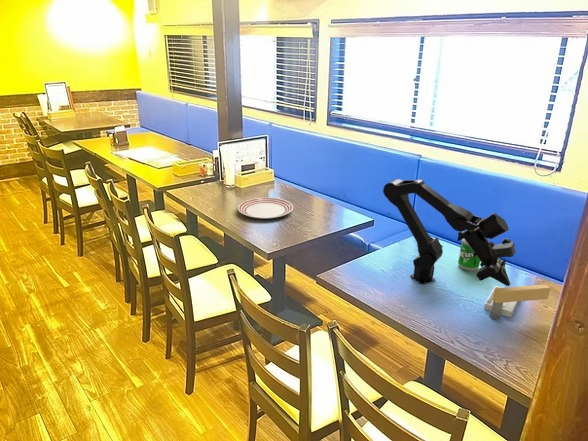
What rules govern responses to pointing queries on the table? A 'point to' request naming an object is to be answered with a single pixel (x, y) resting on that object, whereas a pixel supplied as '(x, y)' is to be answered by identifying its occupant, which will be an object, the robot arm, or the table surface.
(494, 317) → the bar
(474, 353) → the table surface
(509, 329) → the table surface
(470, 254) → the soda can
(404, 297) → the table surface
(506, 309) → the white flat block
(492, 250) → the robot arm
